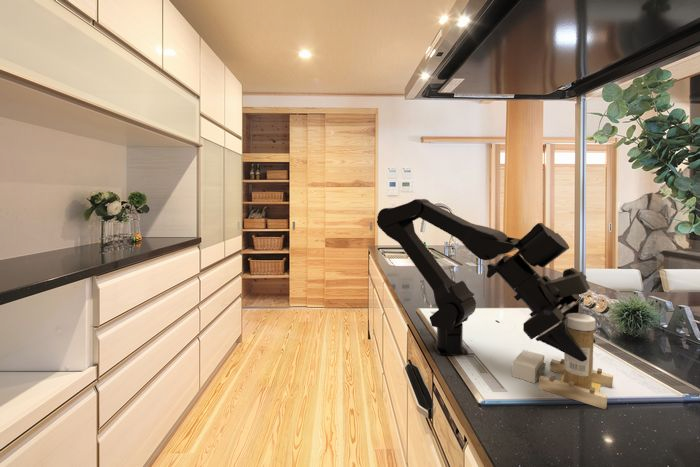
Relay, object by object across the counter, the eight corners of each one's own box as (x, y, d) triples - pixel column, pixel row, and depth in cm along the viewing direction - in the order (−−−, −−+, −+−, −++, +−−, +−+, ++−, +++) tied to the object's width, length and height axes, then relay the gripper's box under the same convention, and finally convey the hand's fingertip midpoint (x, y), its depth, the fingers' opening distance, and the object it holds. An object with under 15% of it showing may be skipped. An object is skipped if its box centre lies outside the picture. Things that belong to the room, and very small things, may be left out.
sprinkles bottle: (596, 388, 63) (600, 316, 62) (585, 397, 60) (589, 322, 59) (569, 378, 67) (572, 310, 65) (557, 385, 64) (560, 315, 63)
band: (555, 389, 63) (555, 388, 63) (563, 374, 68) (563, 374, 68) (595, 402, 59) (595, 401, 59) (601, 385, 64) (601, 384, 64)
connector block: (512, 376, 68) (512, 361, 68) (523, 363, 73) (523, 349, 73) (537, 384, 65) (537, 368, 65) (546, 370, 70) (547, 356, 70)
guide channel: (538, 388, 64) (539, 374, 64) (551, 368, 71) (552, 356, 71) (605, 409, 57) (606, 394, 57) (612, 385, 64) (613, 372, 64)
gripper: (546, 263, 57) (627, 346, 51) (569, 250, 71) (636, 313, 65) (496, 301, 63) (563, 379, 57) (526, 282, 77) (583, 343, 71)
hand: (589, 351), depth 62 cm, fingers open, 9 cm apart
